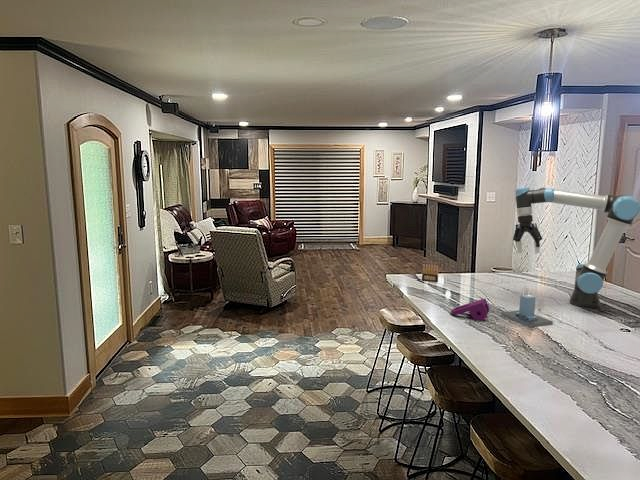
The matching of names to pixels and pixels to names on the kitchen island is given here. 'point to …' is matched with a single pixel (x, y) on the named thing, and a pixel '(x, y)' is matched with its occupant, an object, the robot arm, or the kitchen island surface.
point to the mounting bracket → (474, 309)
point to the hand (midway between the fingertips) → (528, 253)
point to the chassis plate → (527, 322)
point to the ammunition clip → (430, 273)
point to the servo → (527, 307)
